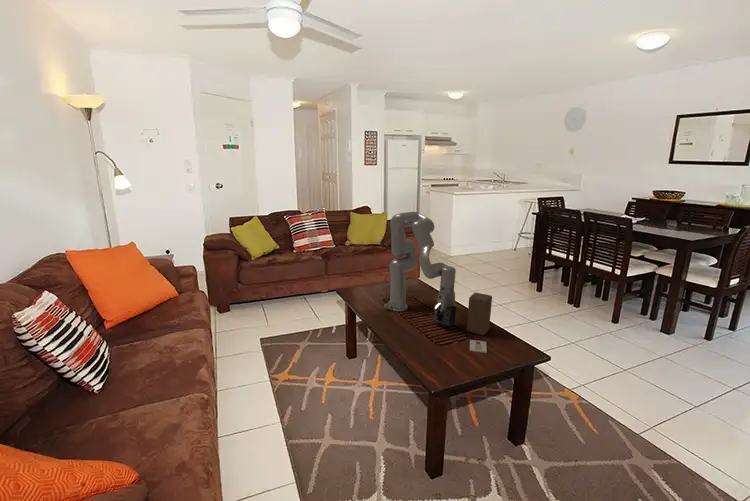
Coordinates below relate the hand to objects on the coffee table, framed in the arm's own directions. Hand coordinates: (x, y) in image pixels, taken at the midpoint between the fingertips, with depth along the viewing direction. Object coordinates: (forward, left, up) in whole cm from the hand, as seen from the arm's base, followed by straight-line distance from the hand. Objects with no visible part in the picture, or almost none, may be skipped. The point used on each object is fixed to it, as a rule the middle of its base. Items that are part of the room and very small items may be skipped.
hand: (444, 318), depth 214 cm
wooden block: (+11, -15, -5) cm, 19 cm away
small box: (0, 0, -3) cm, 3 cm away
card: (-4, -27, -4) cm, 27 cm away
